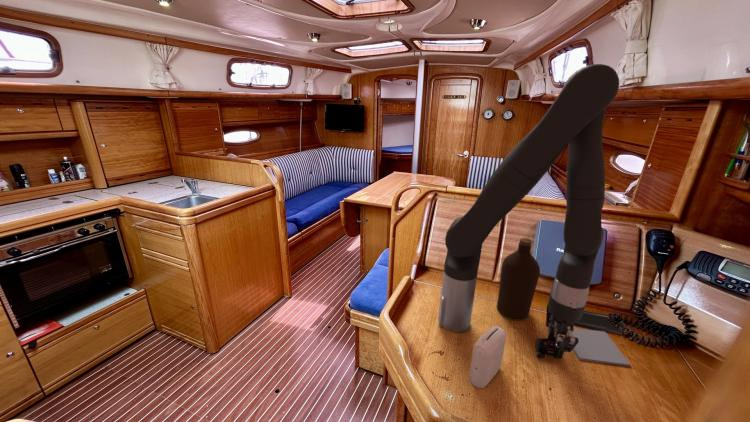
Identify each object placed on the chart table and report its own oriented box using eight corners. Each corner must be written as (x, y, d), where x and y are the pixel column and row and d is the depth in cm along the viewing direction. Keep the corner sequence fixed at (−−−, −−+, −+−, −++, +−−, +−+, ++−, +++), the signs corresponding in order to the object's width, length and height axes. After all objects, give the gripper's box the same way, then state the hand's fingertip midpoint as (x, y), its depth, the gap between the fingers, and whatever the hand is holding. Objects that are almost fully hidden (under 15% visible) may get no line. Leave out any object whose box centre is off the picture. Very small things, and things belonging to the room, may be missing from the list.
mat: (578, 359, 79) (579, 357, 78) (560, 328, 90) (560, 326, 90) (630, 366, 77) (630, 364, 76) (604, 333, 88) (605, 331, 88)
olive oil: (520, 326, 90) (536, 251, 82) (488, 309, 98) (499, 238, 90) (536, 312, 96) (552, 241, 88) (505, 296, 104) (517, 230, 96)
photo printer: (482, 392, 69) (490, 350, 65) (466, 380, 72) (472, 339, 68) (502, 367, 76) (510, 327, 72) (486, 357, 79) (493, 318, 75)
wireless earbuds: (531, 346, 83) (533, 336, 82) (559, 350, 82) (561, 340, 81) (536, 359, 79) (538, 349, 77) (566, 363, 77) (569, 353, 76)
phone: (565, 307, 98) (620, 317, 94) (564, 310, 98) (619, 320, 94) (571, 322, 91) (631, 334, 86) (571, 325, 91) (630, 337, 87)
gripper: (541, 280, 82) (530, 331, 87) (563, 313, 68) (548, 371, 74) (571, 282, 80) (558, 334, 86) (599, 317, 67) (581, 376, 73)
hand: (553, 351), depth 80 cm, fingers closed on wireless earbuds, 3 cm apart
